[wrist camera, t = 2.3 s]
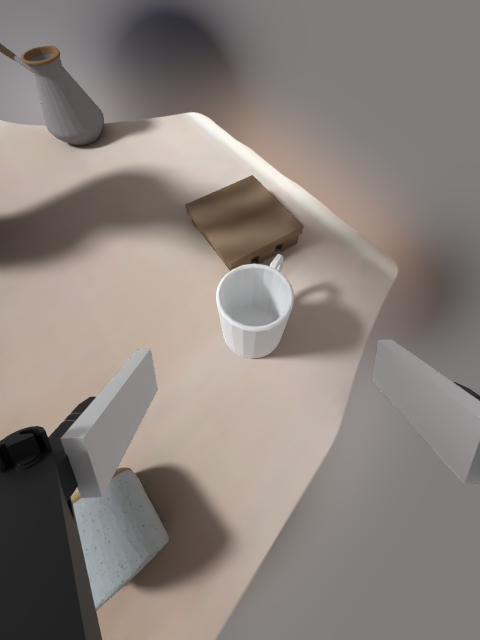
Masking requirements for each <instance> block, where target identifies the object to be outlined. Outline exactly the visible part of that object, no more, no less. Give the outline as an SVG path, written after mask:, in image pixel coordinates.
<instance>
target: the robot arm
mask: <svg viewBox="0 0 480 640" xmlns="http://www.w3.org/2000/svg"><path fill="white" fill-rule="evenodd" d="M372 382H373V383H374V384H375V385H376V386H377V387H378V388H379V390H380V391H381V392H382V393H383V394H384V395H385V396H386V398H387V399H388V400H389V401H390V402H391V403H392V404H393V405H394V407H395V408H396V409H397V410H398V411H399V412H400V413H401V414H402V415H403V417H404V418H405V419H406V420H407V421H408V422H409V423H410V424H411V425H412V427H413V428H414V429H415V430H416V431H417V432H418V433H419V435H420V436H421V437H422V438H423V439H424V440H425V441H426V442H427V444H428V445H429V446H430V447H431V448H432V449H433V450H434V451H435V452H436V453H437V455H438V456H439V457H440V458H441V459H442V460H443V461H444V462H445V464H446V465H447V466H448V467H449V468H450V469H451V470H452V471H453V473H454V474H455V475H456V476H457V477H458V478H459V479H460V480H461V482H462V483H463V484H480V396H479V395H478V394H476V393H475V392H473V391H472V390H470V389H469V388H467V387H464V386H462V385H460V384H458V383H456V382H452V381H450V380H449V379H447V378H446V377H445V376H443V375H442V374H440V373H439V372H438V371H436V370H435V369H433V368H432V367H430V366H429V365H427V364H426V363H425V362H423V361H422V360H420V359H419V358H417V357H416V356H415V355H413V354H412V353H410V352H409V351H408V350H406V349H405V348H403V347H402V346H400V345H399V344H398V343H396V342H395V341H393V340H392V339H385V340H378V344H377V350H376V356H375V363H374V370H373V376H372ZM157 390H158V388H157V383H156V377H155V371H154V366H153V360H152V354H151V349H137V350H136V352H135V353H134V354H133V355H132V356H131V357H130V359H129V360H128V361H127V362H126V363H125V364H124V365H123V367H122V368H121V369H120V370H119V371H118V372H117V374H116V375H115V376H114V377H113V378H112V379H111V381H110V382H109V383H108V384H107V385H106V386H105V388H104V389H103V390H102V391H101V392H100V393H99V394H98V396H97V397H89V398H88V399H86V400H85V401H83V402H82V403H80V404H79V405H78V406H77V407H76V408H75V409H74V410H73V411H72V412H71V414H70V415H69V416H68V417H67V418H66V419H65V421H64V422H62V423H61V424H60V425H59V427H58V428H57V429H56V430H55V431H54V432H53V433H52V434H51V435H50V436H49V437H47V434H46V431H45V430H44V428H43V427H39V426H34V427H28V428H25V429H21V430H19V431H17V432H14V433H12V434H10V435H9V436H7V437H6V438H4V439H3V440H1V441H0V640H102V637H101V632H100V627H99V623H98V618H97V614H96V609H95V604H94V600H93V595H92V591H91V586H90V581H89V577H88V572H87V568H86V563H85V558H84V554H83V549H82V544H81V540H80V535H79V531H78V526H77V521H76V517H75V512H74V508H73V503H72V500H71V498H70V497H71V496H72V494H73V492H74V491H75V489H76V488H77V487H78V490H79V493H80V495H81V498H94V497H103V495H104V493H105V491H106V489H107V487H108V485H109V483H110V481H111V479H112V477H113V475H114V473H115V471H116V470H117V468H118V466H119V464H120V462H121V460H122V458H123V456H124V454H125V452H126V450H127V448H128V446H129V444H130V442H131V440H132V438H133V436H134V435H135V433H136V431H137V429H138V427H139V425H140V423H141V421H142V419H143V417H144V415H145V413H146V411H147V409H148V407H149V405H150V403H151V401H152V400H153V398H154V396H155V394H156V392H157Z"/></svg>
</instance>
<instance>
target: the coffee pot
mask: <svg viewBox="0 0 480 640" xmlns="http://www.w3.org/2000/svg"><path fill="white" fill-rule="evenodd" d="M0 52H2V53H3V54H5V55H6V56H8V57H10V58H11V59H13V60H15V61H17V62H18V63H20V64H21V65H22V66H24V67H25V68H27V69H28V70H30V71H31V72H32V73H34V76H35V80H36V84H37V88H38V93H39V97H40V101H41V105H42V109H43V114H44V118H45V122H46V126H47V129H48V130H49V132H50V133H52V134H53V135H54V136H55V137H56V138H58V139H60V140H62V141H64V142H67V143H69V144H71V145H85V144H89V143H91V142H93V141H95V140H96V139H97V138H98V137H99V136H100V134H101V131H102V128H103V125H104V118H103V113H102V112H101V110H100V109H99V108H98V106H97V105H96V104H95V103H94V102H93V101H92V100H91V99H90V97H89V96H88V95H87V94H86V93H85V92H84V90H83V89H82V88H81V87H80V86H79V85H78V84H77V82H76V81H75V80H74V79H73V78H72V77H71V75H70V74H69V73H68V72H67V71H66V70H65V69H64V67H63V66H62V64H61V60H60V52H59V50H58V49H57V48H56V47H55V46H43V47H37V48H33V49H31V50H28V51H26V52H25V53H23V54H22V56H21V59H20V58H18V57H17V56H16V55H15V54H14V53H12V52H11V51H10V50H8V49H7V48H5V47H4V46H3V45H1V44H0Z"/></svg>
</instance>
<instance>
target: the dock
mask: <svg viewBox="0 0 480 640" xmlns="http://www.w3.org/2000/svg"><path fill="white" fill-rule="evenodd" d="M186 209H187V213H188V214H189V215H190V216H191V218H192V221H193V222H194V223H195V225H196V226H197V227H198V229H199V230H200V231H201V233H202V234H203V235H204V237H205V238H206V239H207V241H208V242H209V243H210V245H211V246H212V247H213V249H214V250H215V251H216V253H217V254H218V255H219V256H220V258H221V259H222V260H223V262H224V263H225V264H226V266H227V267H228V268H229V270H230V271H231V270H232V269H235V268H237V267H240V266H242V265H247V264H251V259H253V258H255V260H256V261H257V262H258V263H261V262H263V261H264V260H266V259H268V258H270V257H272V256H274V253H275V247H276V246H277V247H278V248H279V249H280V250H281V251H283V250H285V249H287V248H289V247H291V246H292V245H294V244H296V243H297V240H298V236H299V234H301V233H302V229H303V225H302V224H301V223H300V222H299V221H298V220H297V219H296V218H295V217H294V216H293V215H292V214H291V213H290V212H289V211H288V210H287V209H286V208H285V207H284V206H283V205H282V204H281V203H280V202H279V201H278V200H277V199H276V198H275V197H274V196H273V195H272V194H271V193H270V192H269V191H268V190H267V189H266V188H265V187H264V186H263V185H262V184H261V183H260V182H259V181H258V180H257V179H256V178H255V177H254V176H253V175H252V176H249V177H247V178H245V179H243V180H240V181H238V182H236V183H234V184H231V185H229V186H227V187H225V188H222V189H220V190H218V191H216V192H213V193H211V194H209V195H206V196H204V197H202V198H200V199H197V200H195V201H193V202H191V203H188V204H186Z"/></svg>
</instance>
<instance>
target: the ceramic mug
mask: <svg viewBox="0 0 480 640" xmlns="http://www.w3.org/2000/svg"><path fill="white" fill-rule="evenodd" d="M71 500H72V503H73V508H74V512H75V517H76V521H77V526H78V531H79V535H80V540H81V544H82V549H83V554H84V558H85V563H86V568H87V572H88V577H89V581H90V586H91V591H92V595H93V600H94V604H95V609H96V611H97V610H98V609H99V608H100V607H101V606H102V605H103V604H104V603H105V602H107V601H108V600H109V599H110V598H111V597H112V596H113V595H114V594H115V593H116V592H117V591H118V590H119V589H121V588H122V587H123V586H124V585H125V584H126V583H127V582H128V581H130V580H131V579H132V578H133V577H134V576H135V575H136V574H137V573H138V572H139V571H140V570H141V569H142V568H143V567H144V566H145V565H146V564H147V563H148V562H149V561H150V560H151V559H152V558H153V557H154V556H155V555H156V554H157V553H158V552H159V551H160V550H161V549H162V548H163V547H164V546H165V545H166V544H167V543H168V541H169V536H168V534H167V532H166V530H165V528H164V526H163V524H162V522H161V521H160V519H159V517H158V515H157V513H156V511H155V509H154V507H153V505H152V503H151V502H150V500H149V498H148V496H147V494H146V492H145V490H144V488H143V486H142V484H141V482H140V480H139V479H138V477H137V476H136V475H135V473H134V472H133V471H132V470H131V469H130V468H119V469H117V470H116V471H115V473H114V475H113V477H112V479H111V481H110V483H109V485H108V487H107V489H106V491H105V493H104V495H103V497H94V498H81V495H80V493H79V492H78V493H76V494H75V495H74V496H73V497H71Z"/></svg>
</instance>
